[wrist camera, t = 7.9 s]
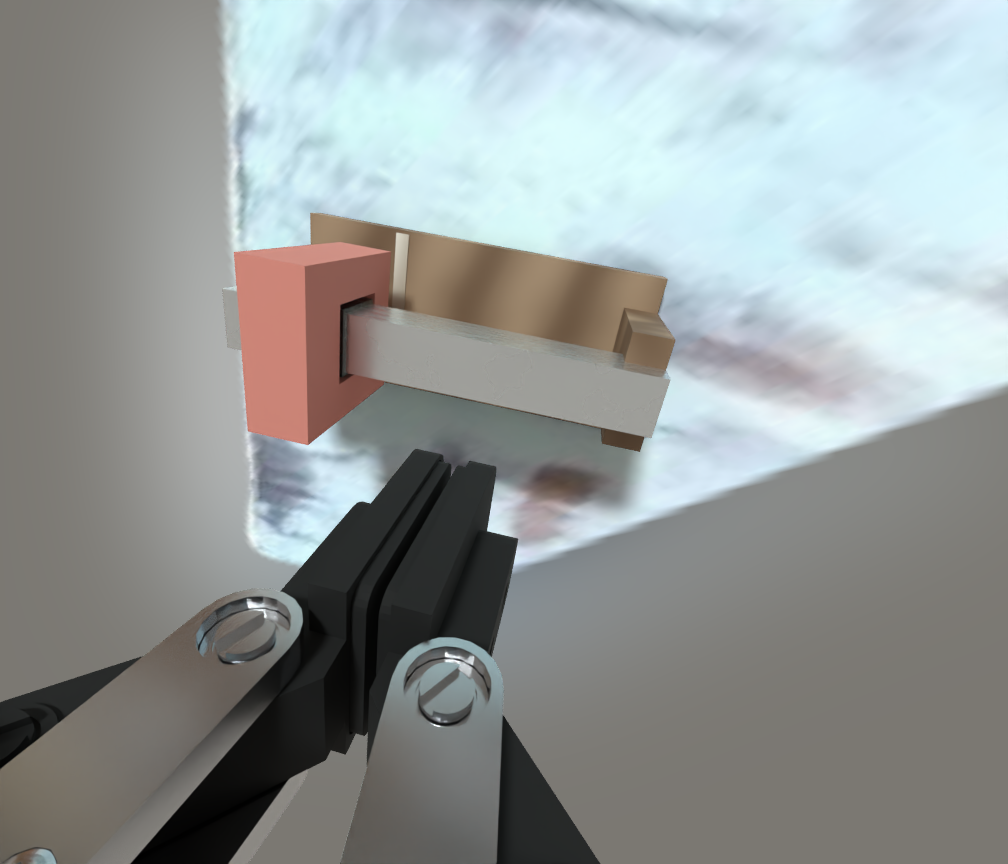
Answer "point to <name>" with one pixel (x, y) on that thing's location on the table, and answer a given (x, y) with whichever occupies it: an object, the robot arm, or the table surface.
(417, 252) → the pipe stand
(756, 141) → the table surface
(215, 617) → the robot arm
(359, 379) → the salmon pink rectangular block
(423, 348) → the rod
